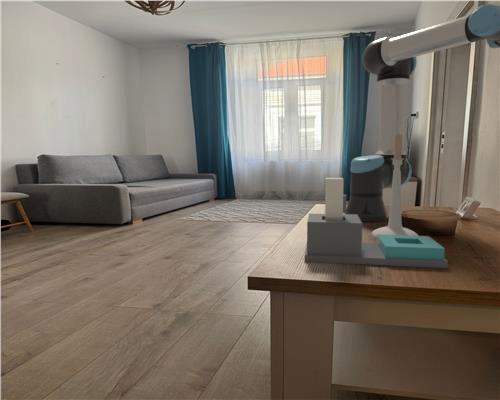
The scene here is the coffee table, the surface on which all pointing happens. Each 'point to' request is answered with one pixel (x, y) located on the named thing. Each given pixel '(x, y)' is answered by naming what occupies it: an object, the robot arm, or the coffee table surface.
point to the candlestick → (395, 198)
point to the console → (367, 245)
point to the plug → (334, 199)
